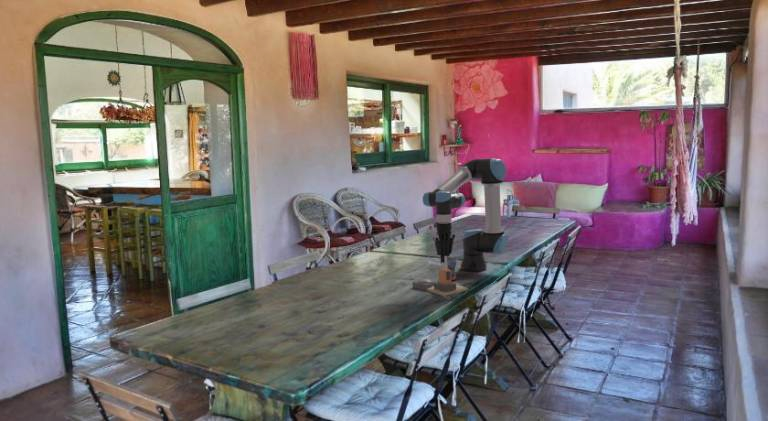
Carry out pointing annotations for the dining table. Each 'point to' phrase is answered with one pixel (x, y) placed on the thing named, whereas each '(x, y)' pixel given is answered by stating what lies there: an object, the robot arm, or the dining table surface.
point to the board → (446, 289)
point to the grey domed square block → (424, 283)
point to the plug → (444, 276)
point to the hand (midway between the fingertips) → (444, 268)
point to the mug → (451, 267)
